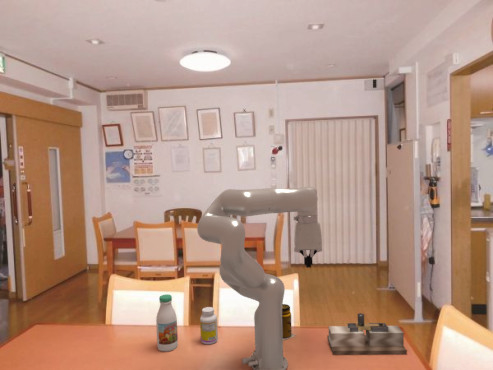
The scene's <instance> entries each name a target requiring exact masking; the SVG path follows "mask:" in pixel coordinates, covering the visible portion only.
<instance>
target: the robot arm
mask: <svg viewBox="0 0 493 370" xmlns="http://www.w3.org/2000/svg"><path fill="white" fill-rule="evenodd" d="M282 213H283V214H284V213H297V214H296V216H293V220H294V221H296V222H295V227H294V228H295V229H294V240H293V241H294V248H293V251H294V253H299V254H301V255H302V256H303V260H304V263H303V264H304V266H306V269H308V268H310V269H311V268H312V267H311V266H313V258H314V256H315V255H316V254H317V253H320V252H321V253H322V252H323V239H322V228H321V224H320V222H318V191H317V189H316V187H314V186H302V187H288V188H271V187H270V188H268V187H267V188H259V189H258V188H255V189H254V188H253V189H252V188H251V189H235V188H233V189H231V188H230V189H226V190H224V191H222V192H221V193H220V194H219V195H218V196H217V197H215V199H214V200H213V201H212V203H211V204H210V205H209V207H208V208H207V209H206V211H205V212H204V213H203V214H202V216H201V217H200V218H199V221H198V223H197V228H196V231H197V234H198V237H200V238H201V240H203V241H205V242H208V243H213V244H218V245H221V252H220V257H219V259H220V260H219V262H220V265H219V269H218V270H219V276H220V279H221V280H222V281H223V282H224V283H225V284H226V285H227V286H229V287H230V288H231V289H232V290H233V291H235V292H236V293H237V294H238V295H241V296H243V297H245V298H248V299H251V300H253V301H257V303H258V306H257V307H256V308H255V309H256V310H255V311H254V317H253V321H254V322H253V323H254V351H252V355H251V354H250V356H248V357H243V358H242V359H241V363H242V365H248V367H251V369H252V370H287V368H288V366H289V362H288V359H287V358H286V357H285V356H284V340H283V330H282V304H284V303H283V302H284V296H285V285H284V282H283V281H282V279H280V277H278V276H275V275H273V274H268V273H265V270H264V268H263V267H262V265H261V264H260V263H259V262H258V261H257V260H256V259H255V258H254V257H252V256H251V255H250V254H249V253H248V252H247V251H246V249H245V239H246V229H245V225H244V224H243V223H242V222H241V221H240V220H239V219H238V218H235V217H232V216H237V217H252V216H260V215H268V214H282ZM307 251H309V252H308V253H307Z"/></svg>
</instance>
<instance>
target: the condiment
mask: <svg viewBox="0 0 493 370" xmlns="http://www.w3.org/2000/svg"><path fill="white" fill-rule="evenodd" d="M282 330H283V341H285V340H288V339H292V338H294V337H296V336H297V335H296V334H294V333H292V312H291V306H290V305H289V304H287V303H286V304H285V303H283V304H282Z"/></svg>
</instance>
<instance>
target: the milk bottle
mask: <svg viewBox="0 0 493 370" xmlns="http://www.w3.org/2000/svg"><path fill="white" fill-rule="evenodd" d="M172 299H173V297H172V295H171V294H166V293H165V294H162V295H160V296H159V309H158V311H157V313H156V314H157V315H156V318H155V319H156V320H155V322H156V324H155V325H156V344H157V349H158V351H160V352H171V351H173V350H175V349H177V348H178V345H179V340H178V339H179V338H178V321H177V314H176V311H175V309H174V308H173V307H174V306H173V304H172V302H173V300H172Z"/></svg>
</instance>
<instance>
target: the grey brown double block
mask: <svg viewBox="0 0 493 370" xmlns="http://www.w3.org/2000/svg"><path fill="white" fill-rule="evenodd" d="M387 326H388V332H387V331H386V332H372V330H358V332H350V328H348V325H331V326H329V325H328V335H327V337H326V338H327V342H328V345H329V347H330V351H331V353H332V355H333V356H351V355H352V356H356V355H357V356H359V355H360V356H361V355H363V356H364V355H365V356H366V355H367V356H369V355H370V356H373V355H377V356H379V355H382V356H383V355H407V354H408V352H407V349H406V347H405V345H404V341H405V340H404V339H405V338H404V337H405V335H404V331H403V330H402V329H401V328H400V326H399V325H387ZM364 331H365V332H364Z"/></svg>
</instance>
